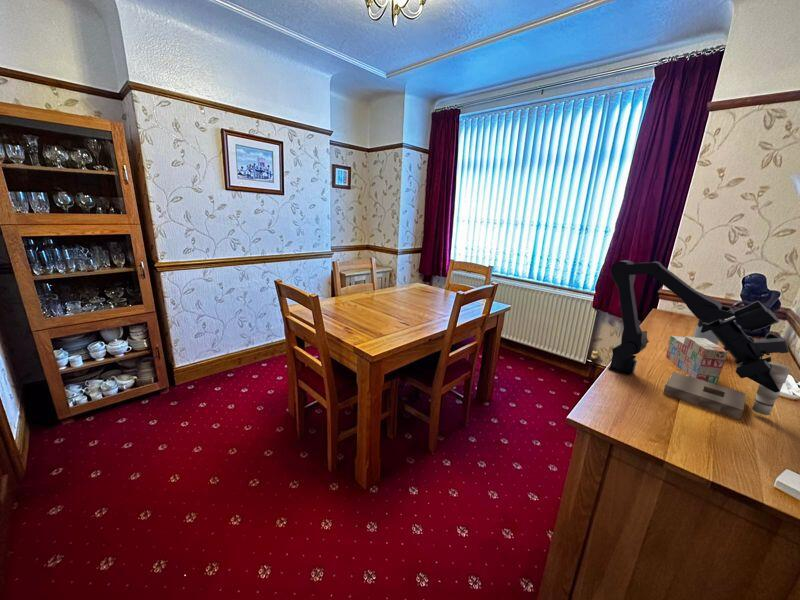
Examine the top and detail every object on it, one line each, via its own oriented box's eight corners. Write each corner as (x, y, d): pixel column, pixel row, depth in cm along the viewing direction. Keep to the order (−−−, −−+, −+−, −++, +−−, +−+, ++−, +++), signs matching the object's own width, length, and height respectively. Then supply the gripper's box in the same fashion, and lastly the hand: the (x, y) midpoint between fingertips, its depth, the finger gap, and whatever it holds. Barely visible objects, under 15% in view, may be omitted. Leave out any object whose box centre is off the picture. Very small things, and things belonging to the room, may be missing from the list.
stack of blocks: (664, 357, 130) (672, 328, 127) (683, 359, 128) (691, 330, 125) (695, 381, 110) (705, 348, 107) (717, 385, 108) (728, 351, 105)
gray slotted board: (662, 393, 101) (665, 384, 100) (671, 380, 110) (673, 372, 109) (740, 419, 89) (743, 410, 88) (742, 402, 98) (745, 393, 97)
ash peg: (749, 410, 91) (765, 365, 87) (749, 405, 94) (765, 360, 90) (772, 418, 88) (790, 371, 84) (772, 412, 91) (790, 366, 87)
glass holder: (691, 351, 137) (701, 317, 133) (684, 341, 149) (693, 309, 145) (719, 356, 132) (730, 321, 129) (709, 345, 144) (719, 313, 140)
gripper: (769, 332, 81) (823, 390, 76) (769, 319, 93) (815, 368, 88) (717, 351, 89) (762, 404, 84) (723, 336, 101) (763, 382, 96)
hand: (777, 389), depth 88 cm, fingers closed on ash peg, 4 cm apart
